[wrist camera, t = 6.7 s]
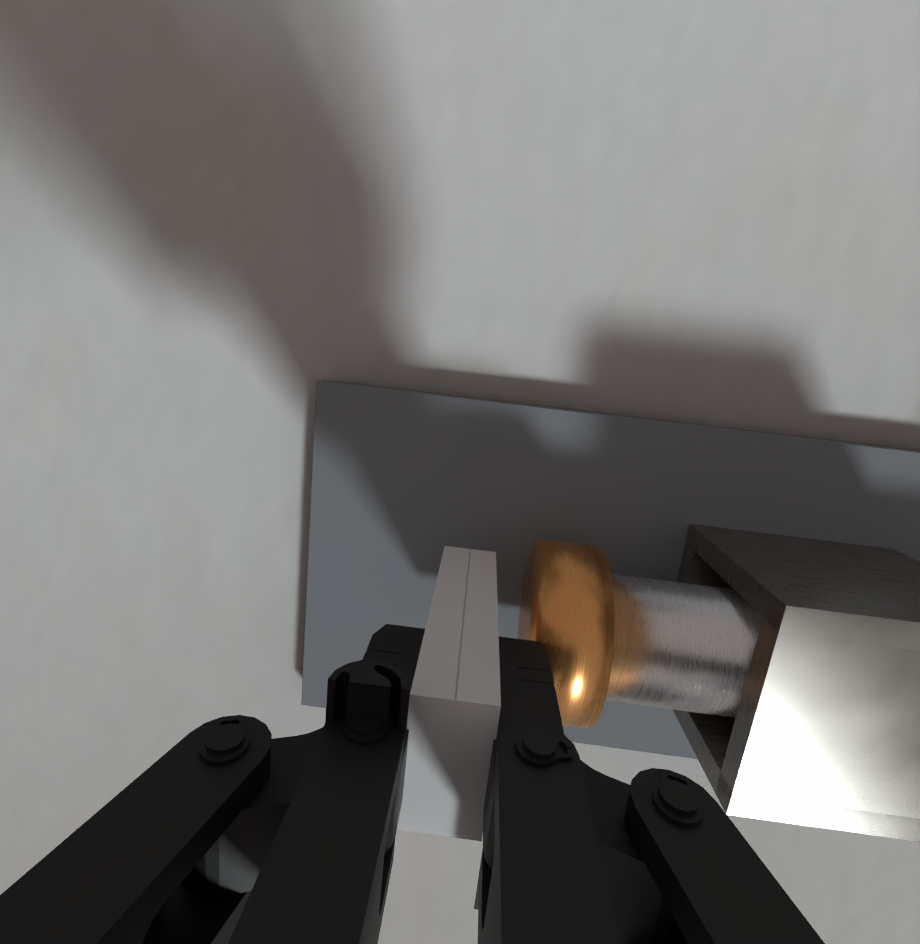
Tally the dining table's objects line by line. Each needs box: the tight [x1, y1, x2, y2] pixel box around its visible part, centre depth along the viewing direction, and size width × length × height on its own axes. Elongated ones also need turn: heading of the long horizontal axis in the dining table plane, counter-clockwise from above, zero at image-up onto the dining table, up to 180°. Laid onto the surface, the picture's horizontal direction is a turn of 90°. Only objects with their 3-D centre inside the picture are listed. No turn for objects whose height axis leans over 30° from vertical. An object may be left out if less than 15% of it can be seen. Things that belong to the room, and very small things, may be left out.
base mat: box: [301, 380, 920, 759], centre depth 16 cm, size 27×11×1 cm, turn 84°
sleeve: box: [672, 524, 920, 842], centre depth 13 cm, size 6×5×5 cm
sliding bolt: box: [517, 538, 763, 729], centre depth 13 cm, size 16×5×5 cm, turn 84°
